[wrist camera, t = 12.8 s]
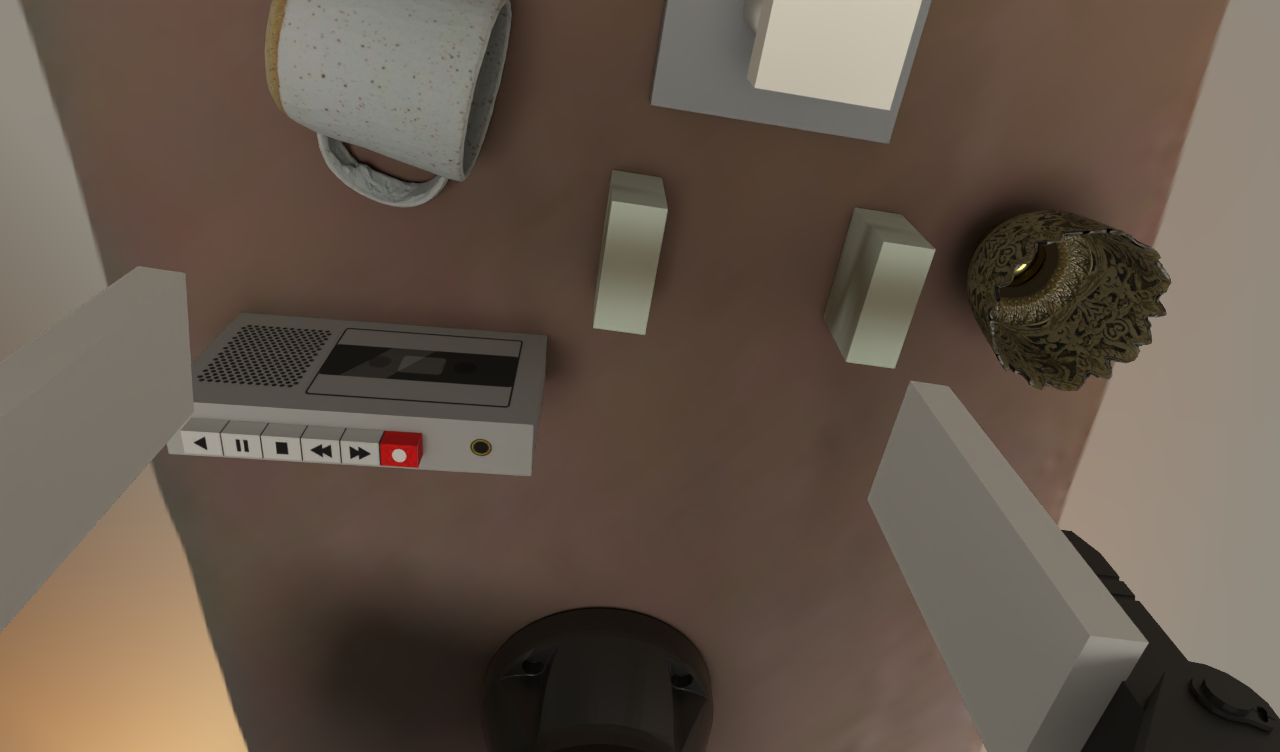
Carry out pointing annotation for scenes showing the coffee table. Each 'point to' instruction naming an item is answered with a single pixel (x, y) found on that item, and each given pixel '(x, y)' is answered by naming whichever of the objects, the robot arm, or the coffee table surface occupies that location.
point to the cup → (1064, 296)
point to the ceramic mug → (390, 83)
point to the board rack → (860, 294)
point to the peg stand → (718, 66)
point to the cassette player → (367, 395)
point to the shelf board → (833, 48)
